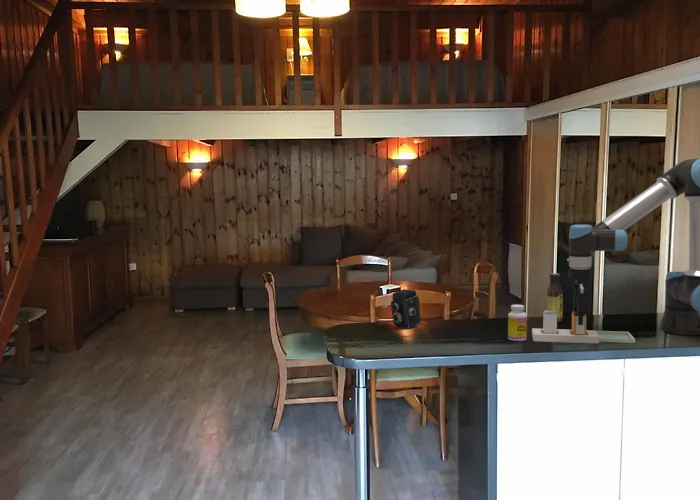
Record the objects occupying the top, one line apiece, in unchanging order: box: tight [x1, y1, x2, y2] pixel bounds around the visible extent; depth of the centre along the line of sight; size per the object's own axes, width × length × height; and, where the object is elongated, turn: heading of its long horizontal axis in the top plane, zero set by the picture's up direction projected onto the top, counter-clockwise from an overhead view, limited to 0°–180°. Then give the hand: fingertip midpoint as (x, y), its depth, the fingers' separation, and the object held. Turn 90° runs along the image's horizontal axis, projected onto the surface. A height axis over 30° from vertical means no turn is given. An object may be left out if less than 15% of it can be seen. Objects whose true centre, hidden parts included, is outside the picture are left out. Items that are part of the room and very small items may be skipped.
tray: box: [595, 330, 636, 344], centre depth 221 cm, size 12×12×2 cm
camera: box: [390, 289, 422, 329], centre depth 248 cm, size 11×11×15 cm
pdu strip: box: [531, 327, 600, 344], centre depth 221 cm, size 22×10×3 cm, turn 76°
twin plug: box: [542, 309, 558, 334], centre depth 222 cm, size 4×4×10 cm
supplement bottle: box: [507, 304, 528, 342], centre depth 223 cm, size 7×7×13 cm
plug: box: [571, 310, 587, 335], centre depth 220 cm, size 4×4×10 cm
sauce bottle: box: [546, 272, 564, 323], centre depth 253 cm, size 7×6×20 cm
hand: (578, 331), depth 220 cm, fingers open, 5 cm apart
